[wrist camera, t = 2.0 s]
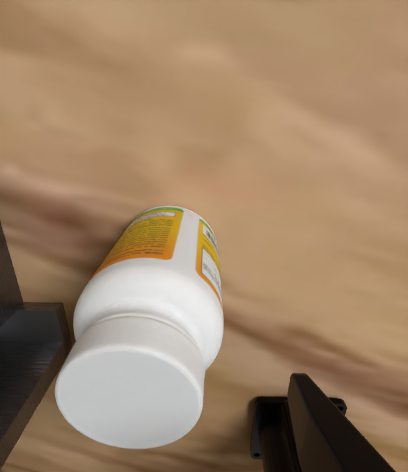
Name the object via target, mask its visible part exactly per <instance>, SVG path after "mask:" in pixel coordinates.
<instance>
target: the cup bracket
mask: <svg viewBox="0 0 408 472" xmlns="http://www.w3.org/2000/svg"><path fill="white" fill-rule="evenodd" d="M71 348H72V344H71V339H70V335H69V330H68V325H67V321H66V316H65V312H64V307H63V303H29V302H23V300H22V297H21V293H20V290H19V286H18V283H17V279H16V275H15V272H14V268H13V265H12V261H11V258H10V254H9V251H8V247H7V244H6V240H5V237H4V233H3V230H2V226H1V223H0V470H1V468H2V466H3V465H4V463H5V461H6V460H7V458H8V456H9V454H10V453H11V451H12V449H13V448H14V446H15V444H16V442H17V441H18V439H19V437H20V436H21V434H22V432H23V430H24V429H25V427H26V425H27V424H28V422H29V420H30V418H31V417H32V415H33V413H34V412H35V410H36V408H37V407H38V405H39V403H40V401H41V400H42V398H43V396H44V395H45V393H46V391H47V389H48V388H49V386H50V384H51V383H52V381H53V379H54V377H55V376H56V374H57V372H58V371H59V369H60V367H61V365H62V364H63V362H64V360H65V359H66V357H67V355H68V353H69V352H70V350H71Z"/></svg>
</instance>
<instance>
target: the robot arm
mask: <svg viewBox="0 0 408 472" xmlns="http://www.w3.org/2000/svg"><path fill="white" fill-rule="evenodd" d="M346 410H347V406H346V404H345V402H344V400H342V399H329V398H328V397H327V396H326V395H325V394H324V393H323V392H322V390H321V389H320V388H319V387H318V386H317V385H316V384H315V383H314V382H313V381H312V379H311V378H310V377H309V376H308V375H307V374H305V373H292V374H291V377H290V382H289V388H288V398H274V397H261V398H258V399H257V400H256V401H255V409H254V418H253V427H252V436H251V445H250V453H251V457H252V458H254V459H262V461H263V468H264V472H396V471H395V470H394V469H393V468H392V467H391V466H390V465H389V464H388V463H387V462H386V460H385V459H384V458H383V457H382V456H381V455H380V454H379V453H378V452H377V451H376V450H375V448H374V447H373V446H372V445H371V444H370V443H369V442H368V441H367V440H366V439H365V437H364V436H363V435H362V434H361V433H360V432H359V431H358V430H357V429H356V428H355V427H354V425H353V424H352V423H351V422H350V421H349V420H348V419H347V418H346V417H345V413H346Z"/></svg>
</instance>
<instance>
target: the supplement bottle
mask: <svg viewBox="0 0 408 472" xmlns="http://www.w3.org/2000/svg"><path fill="white" fill-rule="evenodd" d="M73 328H74V336H75V340H76V343H75V344H74V346H73V348H72V350H71V352H70V354H69V356H68V357H67V359H66V361H65V363H64V365H63V367H62V369H61V370H60V373H59V375H58V377H57V380H56V385H55V399H56V402H57V405H58V408H59V410H60V412H61V413H62V415H63V416H64V418H65V419H66V420H67V421H68V422H69V424H71V425H72V426H73V427H74V428H75V429H76V430H78V431H79V432H81V433H82V434H84V435H85V436H87V437H89V438H91V439H93V440H95V441H98V442H100V443H103V444H106V445H110V446H115V447H119V448H127V449H147V448H154V447H159V446H163V445H166V444H169V443H172V442H174V441H176V440H178V439H180V438H182V437H183V436H184V435H185V434H187V433H188V432H189V431H190V430H191V429H192V428H193V427H194V426H195V424H196V423H197V421H198V419H199V417H200V414H201V411H202V407H203V394H204V378H205V371H206V370H207V369H208V368H209V366H210V365H211V364H212V362H213V361H214V359H215V358H216V356H217V354H218V352H219V349H220V346H221V343H222V337H223V306H222V292H221V280H220V266H219V253H218V246H217V241H216V237H215V235H214V233H213V231H212V229H211V227H210V226H209V225H208V223H207V222H206V221H205V220H204V219H203V218H202V217H200V216H199V215H198V214H196V213H195V212H193V211H191V210H188V209H186V208H182V207H178V206H159V207H154V208H151V209H149V210H147V211H145V212H143V213H141V214H140V215H139V216H137V217H136V218H135V219H134V220H133V221H132V222H131V224H130V225H129V226H128V227H127V229H126V230H125V231H124V233H123V234H122V236H121V237H120V239H119V240H118V241H117V243H116V244H115V246H114V247H113V248H112V250H111V251H110V253H109V254H108V256H107V257H106V258H105V260H104V261H103V263H102V264H101V265H100V266H99V268H98V269H97V270H96V272H95V273H94V275H93V276H92V278H91V279H90V281H89V282H88V283H87V285H86V287H85V288H84V290H83V292H82V293H81V295H80V297H79V299H78V301H77V304H76V307H75V311H74V318H73Z"/></svg>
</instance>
